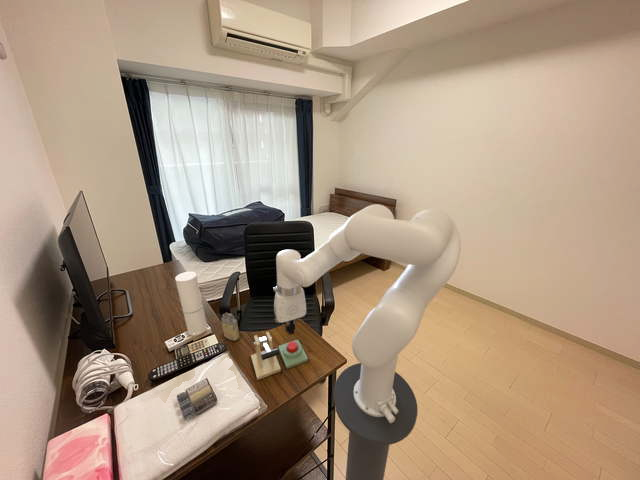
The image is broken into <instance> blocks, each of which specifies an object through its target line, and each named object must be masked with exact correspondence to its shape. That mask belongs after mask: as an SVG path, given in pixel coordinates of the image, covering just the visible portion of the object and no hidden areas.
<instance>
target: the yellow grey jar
mask: <svg viewBox="0 0 640 480" xmlns="http://www.w3.org/2000/svg"><path fill="white" fill-rule="evenodd" d="M221 316H222V317H221V327H222V332H223V337H225V338H226V340H231V341H232V342H233V341H234V342H235V341H237V340H239V339H240V331H239V326H238V321H237V319H236V318H235V316H234V315H233V314H232V313H231V312H230V313H228V312H225V313H223V314H222V315H221Z"/></svg>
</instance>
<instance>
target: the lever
mask: <svg viewBox="0 0 640 480" xmlns="http://www.w3.org/2000/svg"><path fill="white" fill-rule="evenodd" d="M258 340H259V343H260V349H264V351H266V353H263V354H261V358H262V360H265V359H268V358H271V357H274V356H276V357H277V356H280V352H279V349H278V348H275V349H274V348H273V350H270V349H269V347H268V342H267V338H266V335H264V336H262V337H258Z"/></svg>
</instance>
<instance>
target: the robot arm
mask: <svg viewBox="0 0 640 480" xmlns="http://www.w3.org/2000/svg"><path fill="white" fill-rule="evenodd" d="M461 242H462V241H461V236H460V232H459V229H458V227H457V225H456V223H455V221H454V220H453V218H451V216H450V215H449V214H448V213H447V212H445V211H444V210H442V209H439V208H427V209H423V210H421V211H419V212H418V213H416V214H415V215H414V216H413V217H412V218H411V219H409V220H403V219H395V216H394V214H393V213H392V211H391V210H390V209H389V208H388V207H387V206H385V205H383V204H378V203H376V204H375V203H374V204H371V205H368V206H366V207H364V208H362V209H360V210H358V211H356V212H355V213H354V214H352V215H351V216H350V217H349V218H348V219H347V220H346V222H345V223H344V224H343V225H341V226H340V227H338V228H337V229H335V230H334V231H333V232H332V233H331V234H330V235H329V237H328V240H327V241H326V242H324V243H323V244H322V245H321V246H319V247H318V248H317V249H315V250H314V251H312V252H311V253H309V254H307V255H306V256H305V257H303V258H301V257H302V256H301V254H300V252H299V251H298V250H295V249H283V250H281V251H279V252H278V253H277V254H276V257H275V262H276V263H275V264H276V265H275V266H276V286H274V287H272V291H273V292H274V293H275V295H274V300H273V301H274V302H273V313H274V319H273V321H274V323H276V324H280V323H281V324H283V325H285V332H287V333H288V335H289V336H291V335H295V330H296V324H297V323H298V322H297V321H298V320H299V319H300V318H303V317H305V316H306V315H307V302H306V295H305V290H304V288H308V287H311V286H312V285H313V284H314V283H315V282H317V281H318V280H319V279H320V278H321V277H322V276H323V275H325V274H327V272H329V271H330V270H331V269H333V268H334V267H336V266H337V265H338V264H340V263H341V262H350V261H352V260H354V259H356V258H357V257H359V256H360V255H361V254H362V255H366V256H370V257H374V258H379V259H383V260H388V261H393V262H397V263H401V264H405V265H407V266H406V267H405V269H404V270H403V272H402V273H401V274H400V275H399V277H398V278H397V279H396V281H395V282H394V283H393V284H392V285H391V286H390V287H388V289H387V290H386V291H385V292H384V294H383V296H382V297H381V298H380V300H379V302H378V303H377V305H376V306H375V307H374V308H372V309H371V310H370V311H369V313H368V314H367V315H366V317H365V318H364V320H363V322H362V323H361V325H360V326H359V328H358V329H357V331H356V332H355V333H354V336H353V337H352V341H351V348H352V353H353V355H354V357H355V359H356V360H357V362H358V363H361V373H360V379H359V380H358V381H357V383H356V384H355V386H354V399H355V402H356V404H357V405H358V407H359V408H360V409H361V410H362V411H363V412H365V413H366V414H368V415H371V416H374V417H384V416H385V417H386V418H387V420H388V421H389V422H390V423H393V422H394V421H395V417H394V416H393V414H392V413H391V412H392V411H393V412H394V414H397V413H398V412H399V411H398V409H397V408H396V407H395V404H396V395H395V392H394V390H393V382H394V375H395V372H396V369H397V363H398V358H399V354H400V353H401V352H402V351H403V350H404V349H405V348H406V347H407V346H408V345H409V344H410V343H411V342H412V340H413V339H414V338H415V336H416V334H417V332H418V330H419V328H420V325H421V323H422V319H423V317H424V314H425V312H426V309H427V307H428V306H429V304H430V303H431V302H432V301H433V300H434V298H436V296H437V295H438V294H439V293H440V291H442V289H443V288H444V287H445V286H446V284H447V283H448V281H450V279H451V277H452V276H453V274H454V273H455V271H456V268H457V266H458V264H459V260H460V256H461V249H462V243H461Z"/></svg>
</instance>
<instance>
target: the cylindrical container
mask: <svg viewBox="0 0 640 480" xmlns="http://www.w3.org/2000/svg"><path fill="white" fill-rule="evenodd" d="M174 280H175V284H176V289H177V292H178V296H179V301H180V305H181V309H182V312H183V317H184V322H185V325H186V326H185V327H186V330H187V333H188V335H189V336H198V335H201V334H203V333H204V332H206V331H207V329H208V325H207V319H206V315H205V309H204V304H203V301H202V300H203V299H202V295H201V291H200V290H201V289H200V285H199V280H198V275H197V273H196V272H195V271H185V272H181V273H178V274H177V275H176V276H175V277H174ZM205 327H206V328H205ZM198 332H199V333H198ZM193 333H195V334H193Z"/></svg>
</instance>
